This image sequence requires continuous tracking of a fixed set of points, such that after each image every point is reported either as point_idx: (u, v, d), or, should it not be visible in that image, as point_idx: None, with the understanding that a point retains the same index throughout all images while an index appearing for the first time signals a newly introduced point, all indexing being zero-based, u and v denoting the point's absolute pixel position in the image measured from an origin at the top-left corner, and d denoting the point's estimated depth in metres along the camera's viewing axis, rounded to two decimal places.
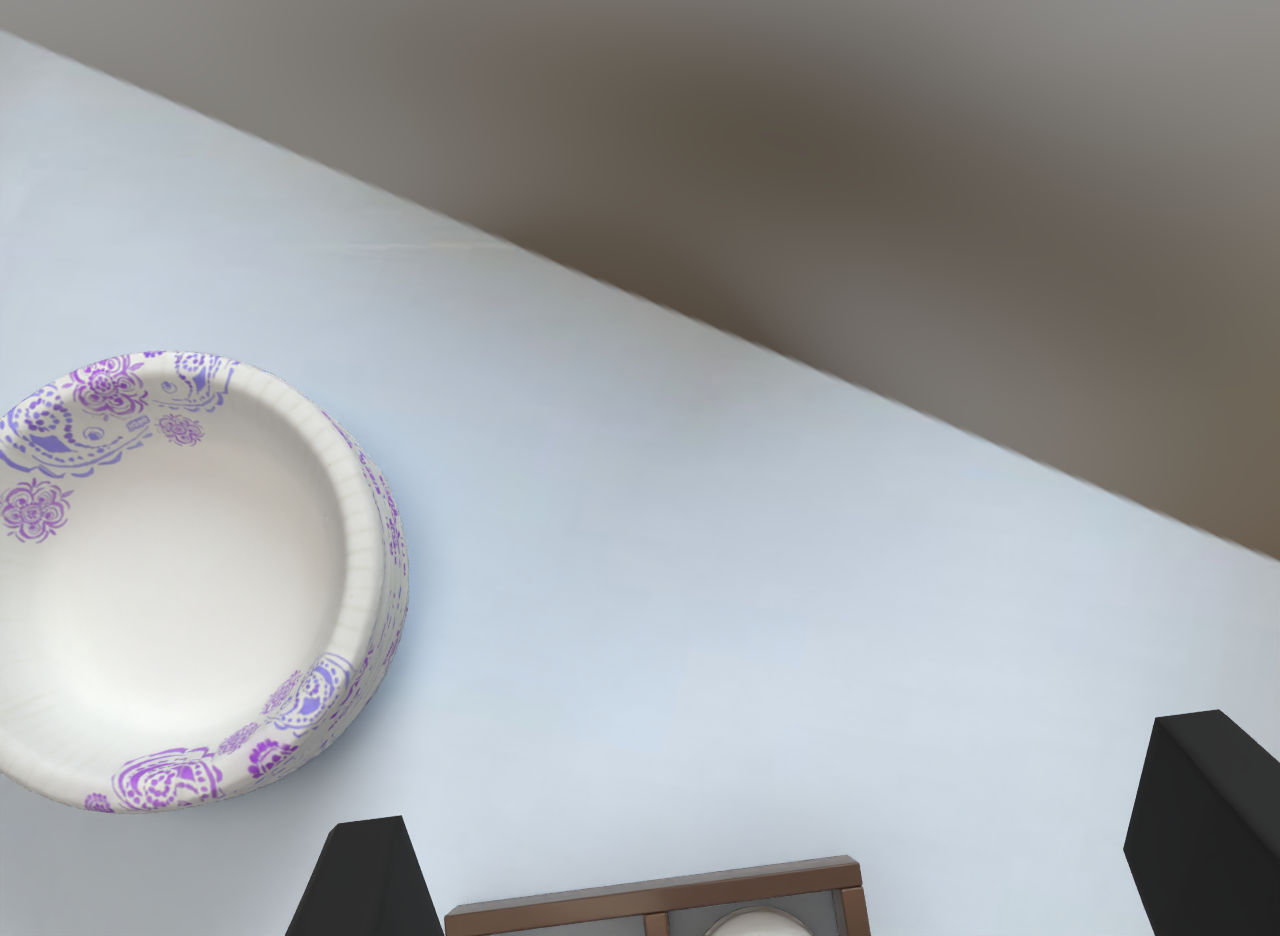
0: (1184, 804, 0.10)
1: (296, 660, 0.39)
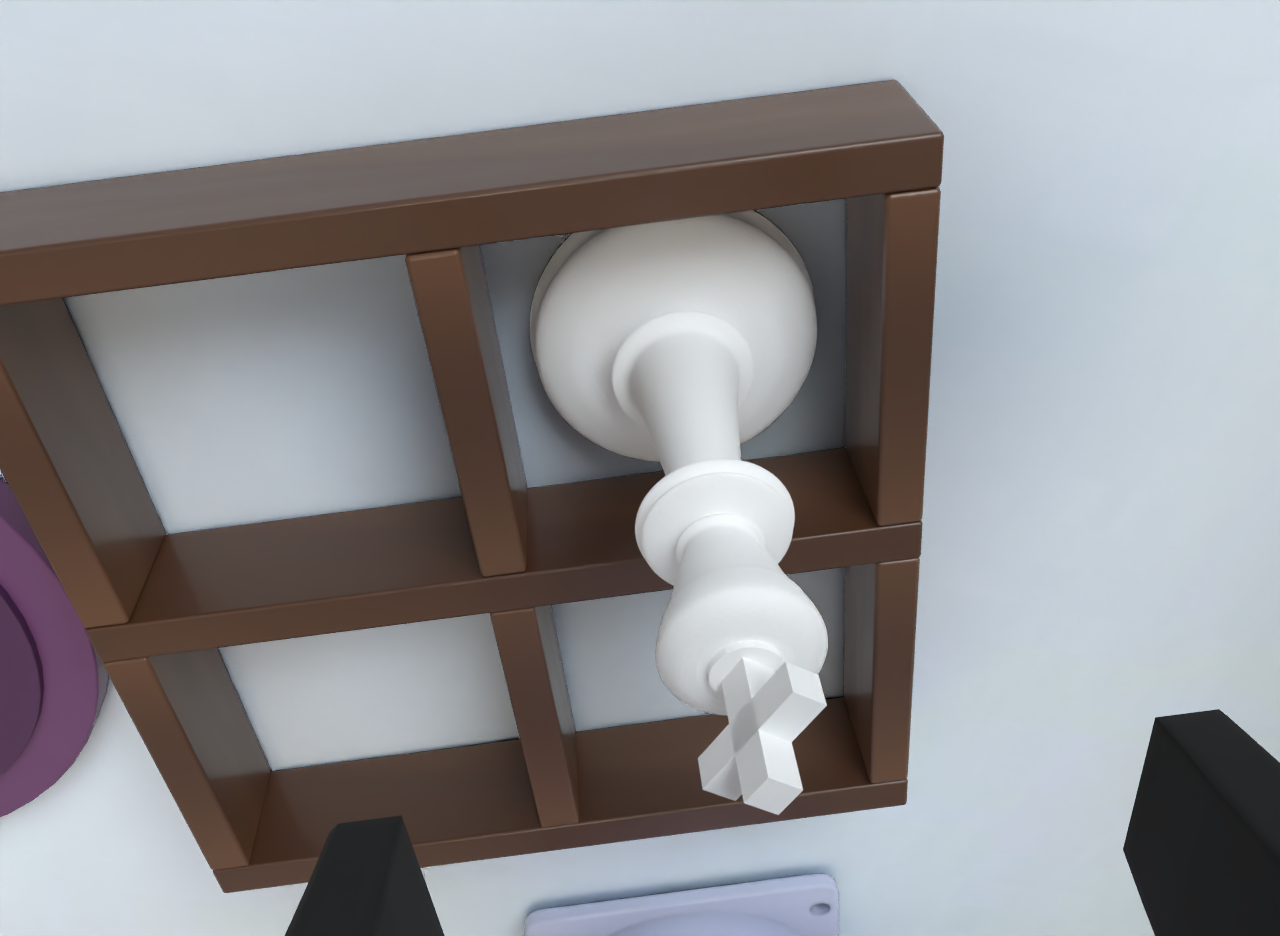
0: (1184, 804, 0.10)
1: None
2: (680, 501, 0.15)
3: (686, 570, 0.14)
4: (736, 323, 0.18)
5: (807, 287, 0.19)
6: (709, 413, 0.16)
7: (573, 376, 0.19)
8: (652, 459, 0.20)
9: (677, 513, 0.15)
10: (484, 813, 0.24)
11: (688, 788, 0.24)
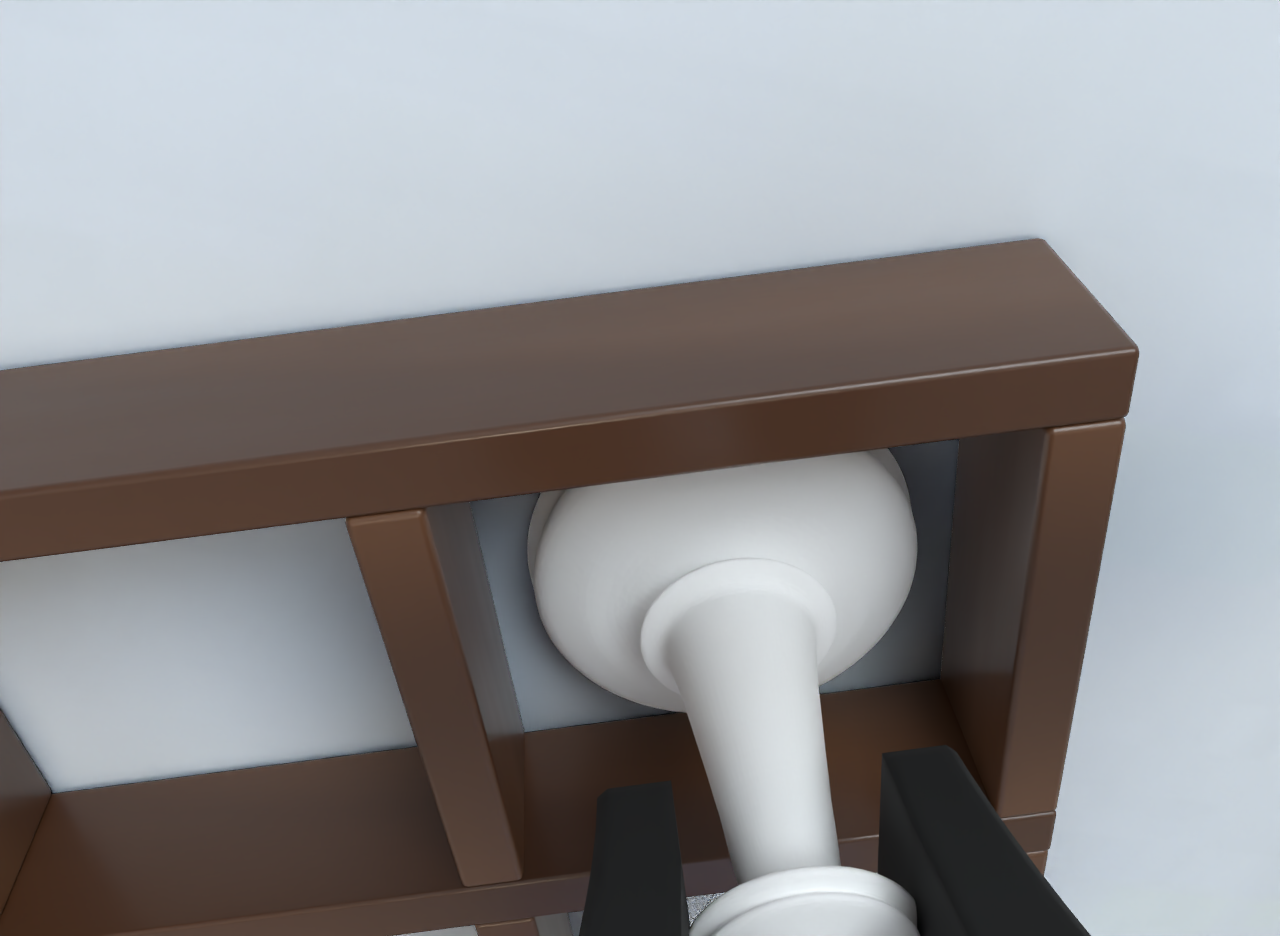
0: (901, 841, 0.10)
1: None
2: (755, 934, 0.09)
3: None
4: (812, 563, 0.13)
5: (907, 508, 0.14)
6: (786, 737, 0.11)
7: (586, 624, 0.14)
8: None
9: None
10: None
11: None
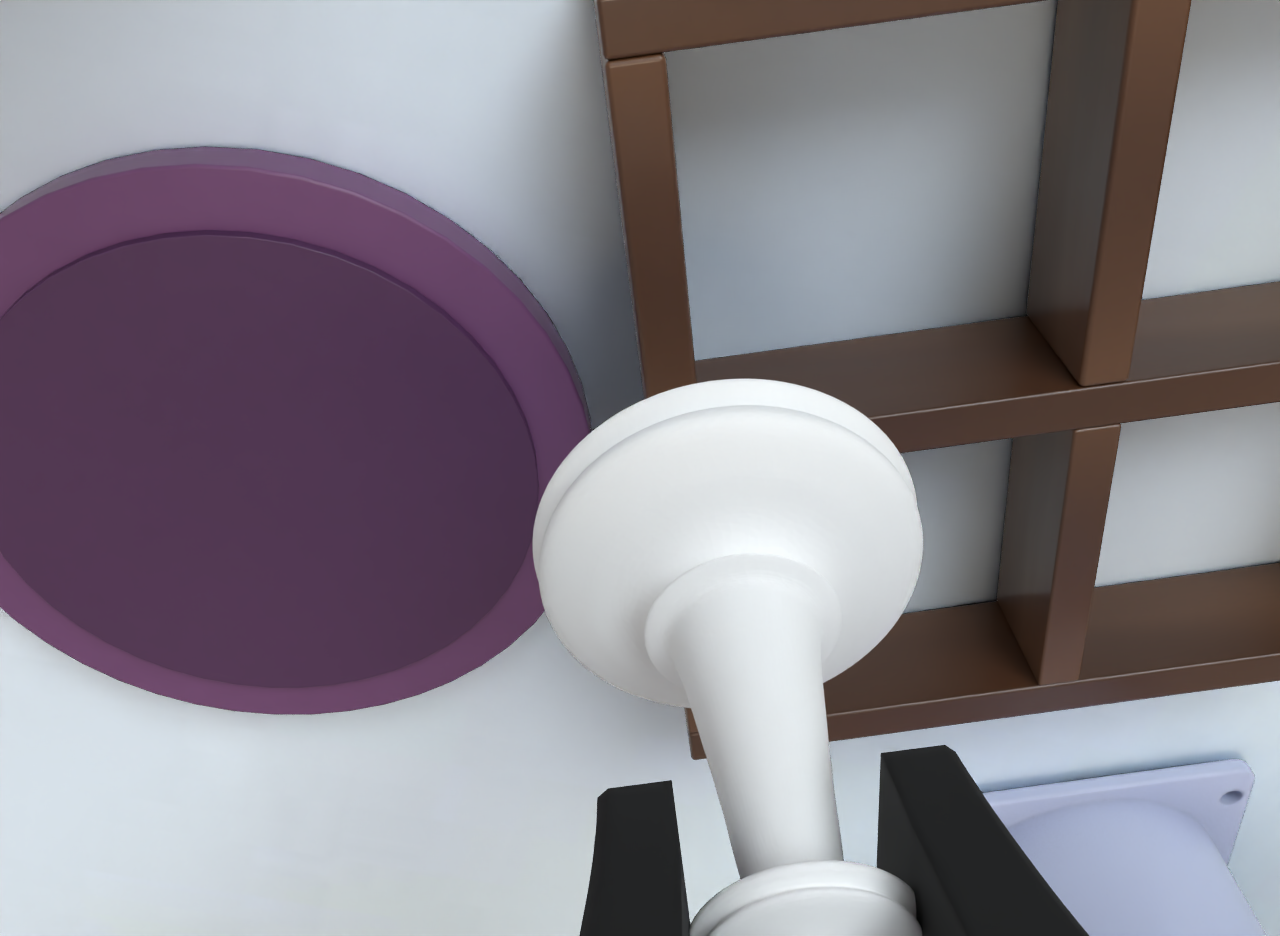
0: (900, 841, 0.10)
1: None
2: (758, 928, 0.09)
3: None
4: (817, 559, 0.13)
5: (913, 505, 0.14)
6: (790, 732, 0.11)
7: (591, 618, 0.14)
8: None
9: None
10: (968, 674, 0.22)
11: (1185, 646, 0.22)
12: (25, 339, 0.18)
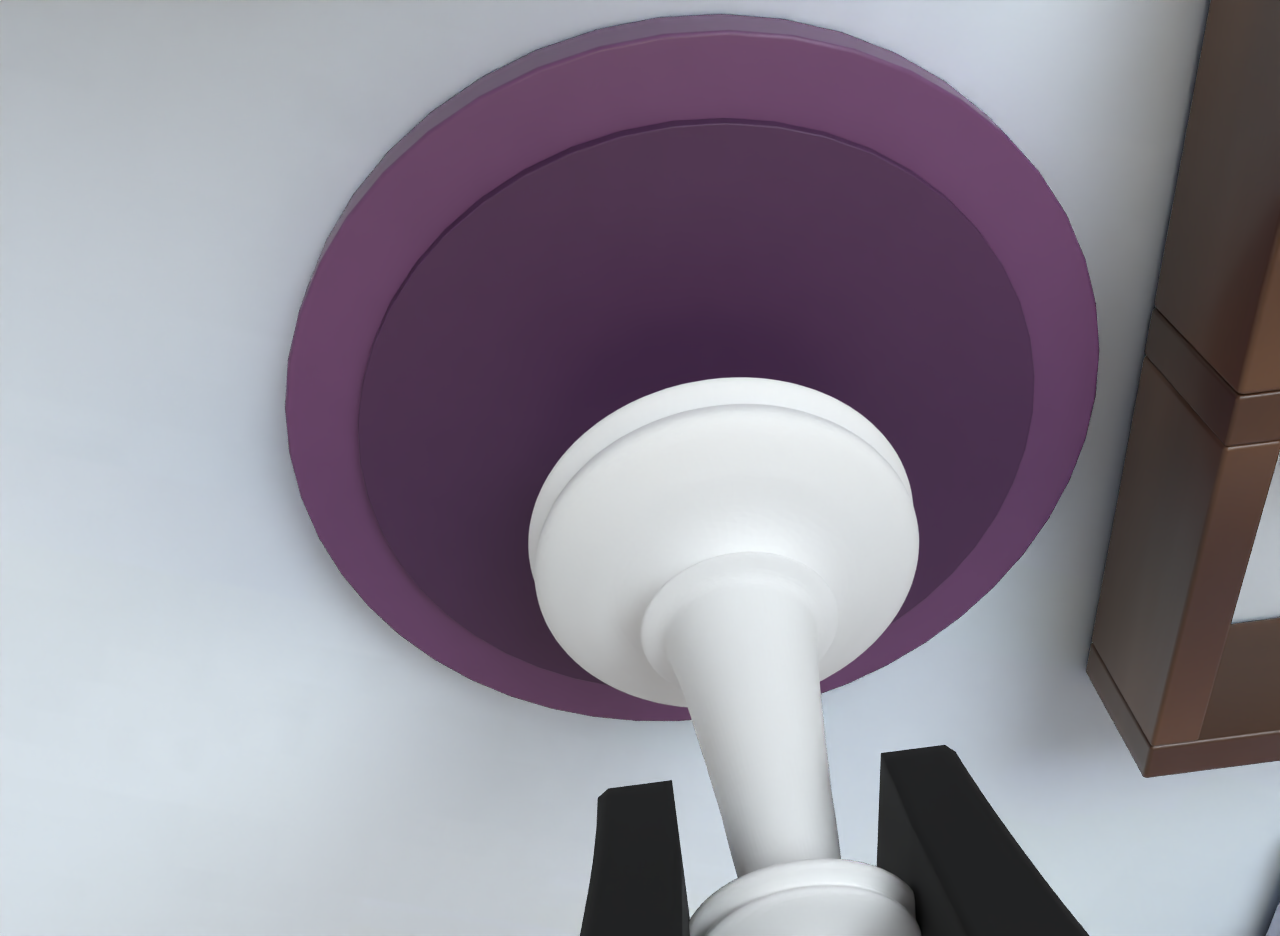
0: (900, 841, 0.10)
1: None
2: (756, 928, 0.09)
3: None
4: (813, 558, 0.13)
5: (909, 504, 0.14)
6: (787, 730, 0.11)
7: (587, 617, 0.14)
8: None
9: None
10: None
11: None
12: (474, 256, 0.14)
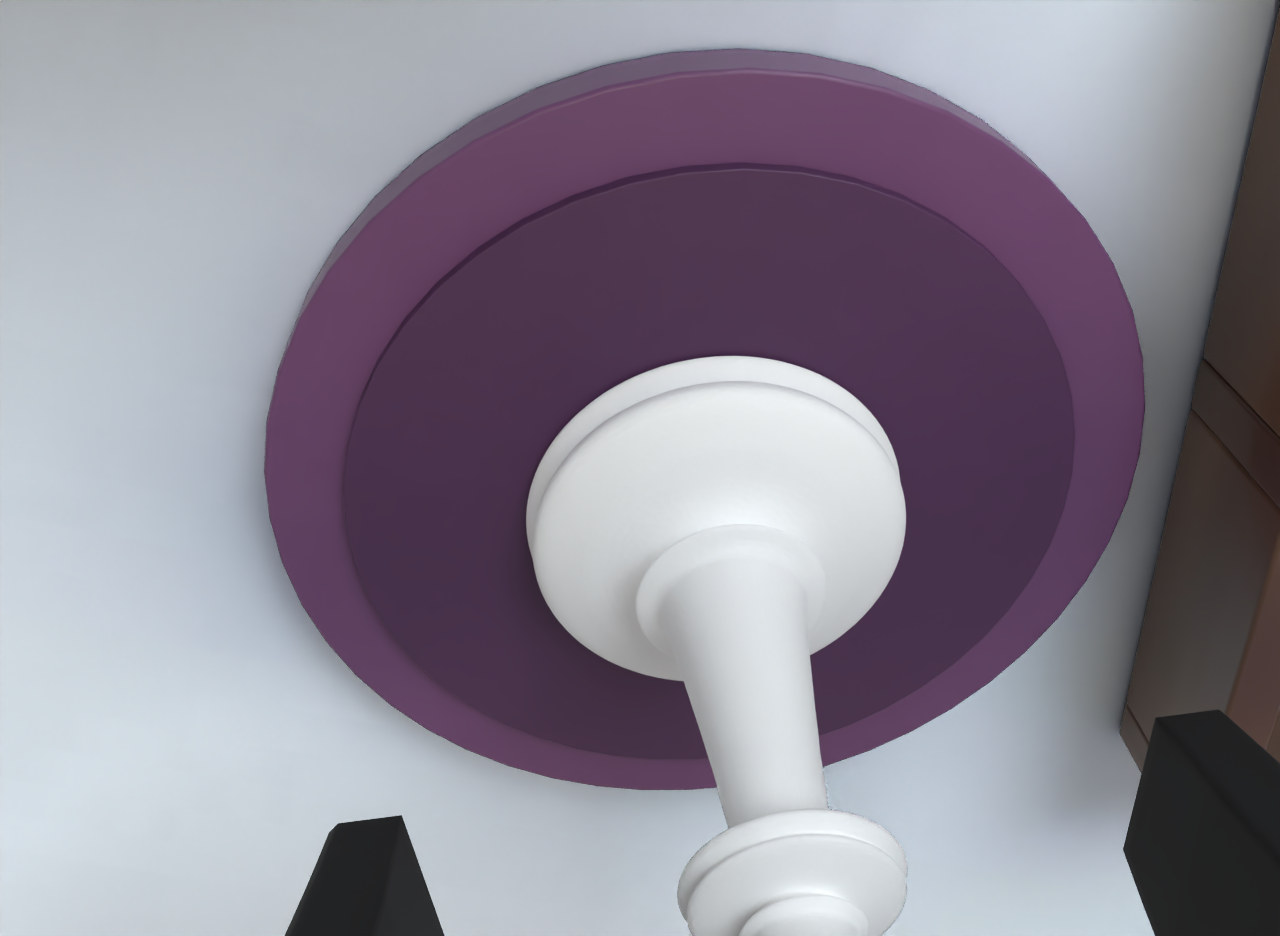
0: (1184, 804, 0.10)
1: None
2: (747, 875, 0.10)
3: None
4: (803, 531, 0.14)
5: (896, 479, 0.14)
6: (777, 693, 0.12)
7: (584, 591, 0.14)
8: None
9: (742, 889, 0.10)
10: None
11: None
12: (469, 311, 0.13)
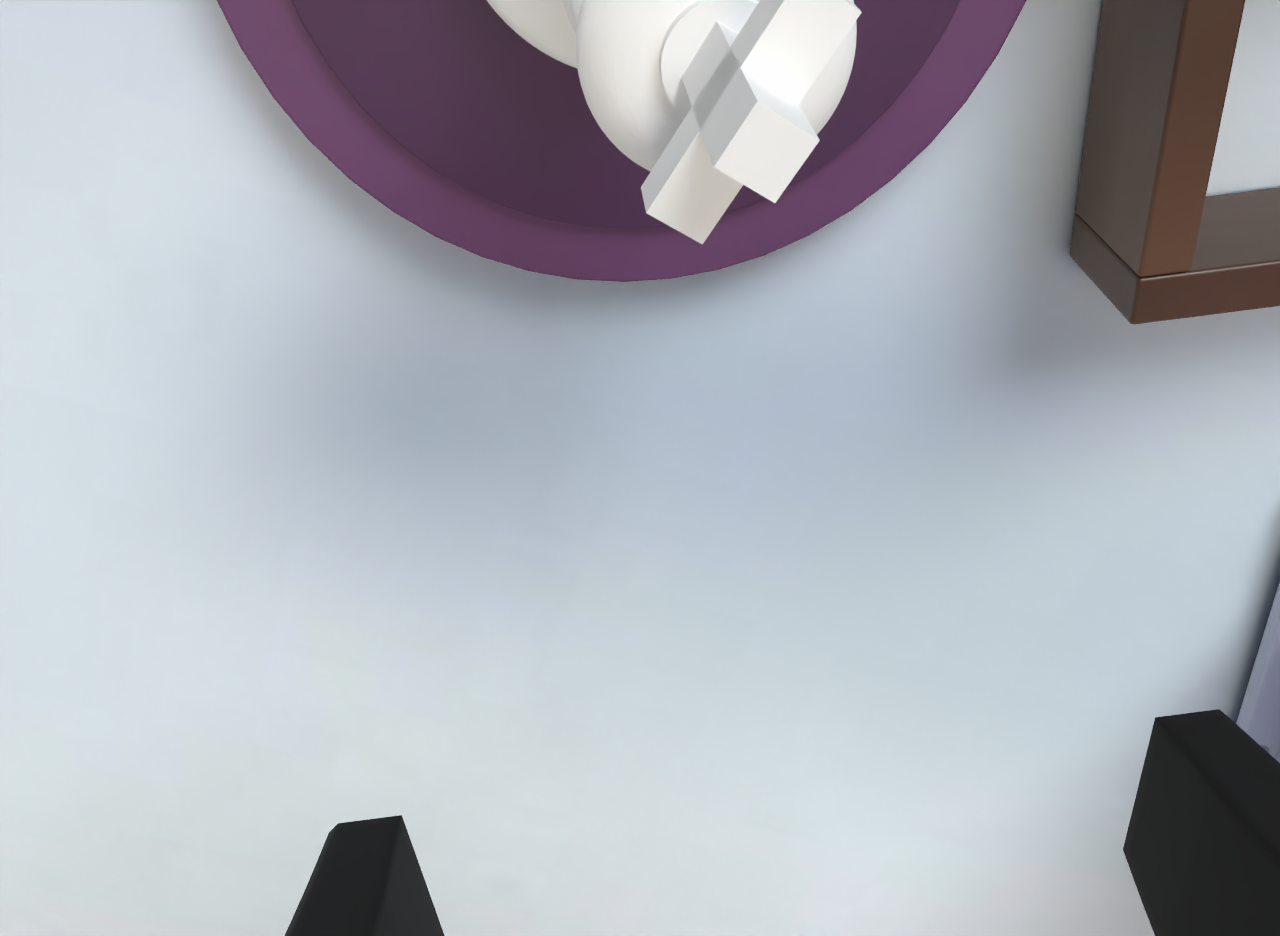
0: (1184, 804, 0.10)
1: None
2: None
3: None
4: None
5: None
6: None
7: None
8: None
9: None
10: None
11: None
12: None
